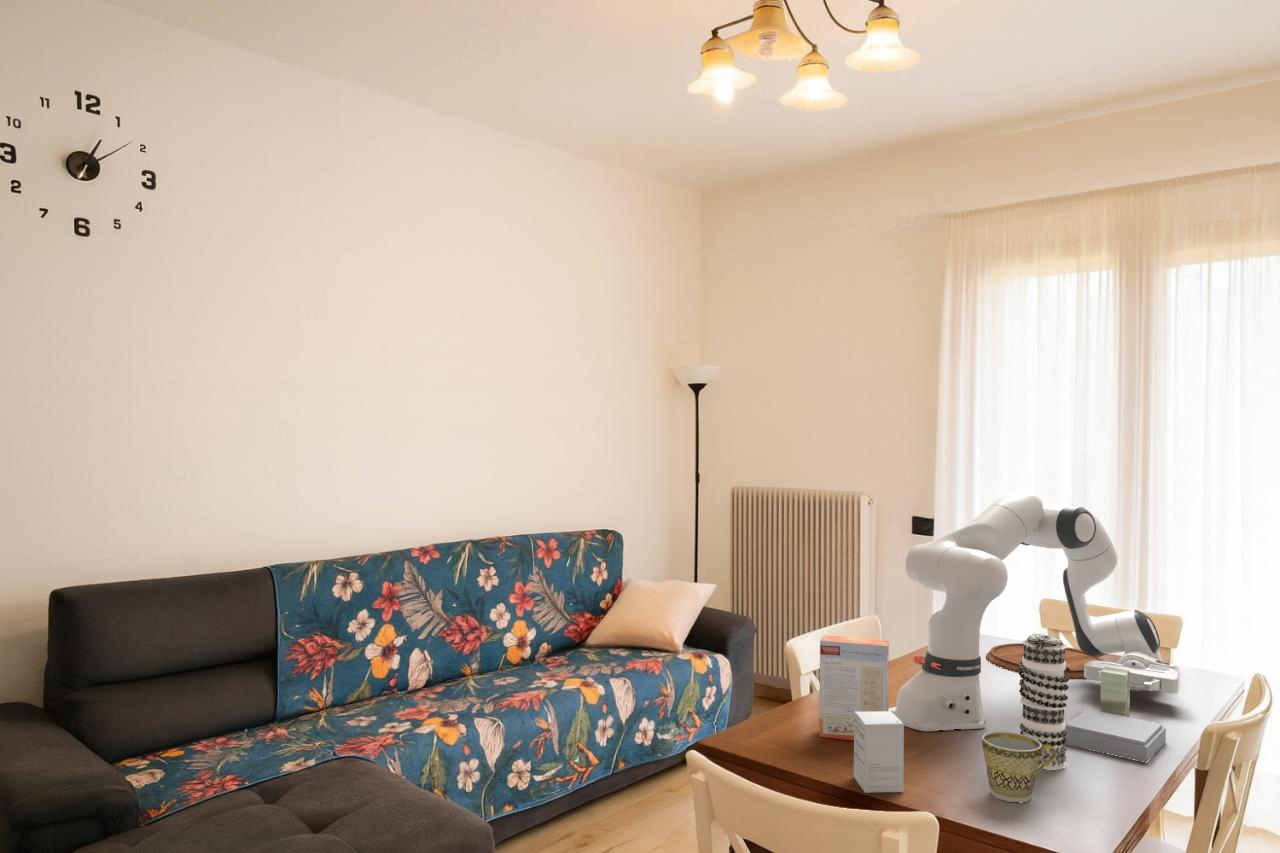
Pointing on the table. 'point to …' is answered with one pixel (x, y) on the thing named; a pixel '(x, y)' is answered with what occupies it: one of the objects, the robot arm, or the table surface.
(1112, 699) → the tall block
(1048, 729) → the decorative candle
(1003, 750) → the ceramic cup
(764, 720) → the table surface
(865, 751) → the supplement box
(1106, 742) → the plinth
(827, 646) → the cracker box
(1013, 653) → the cutting board
